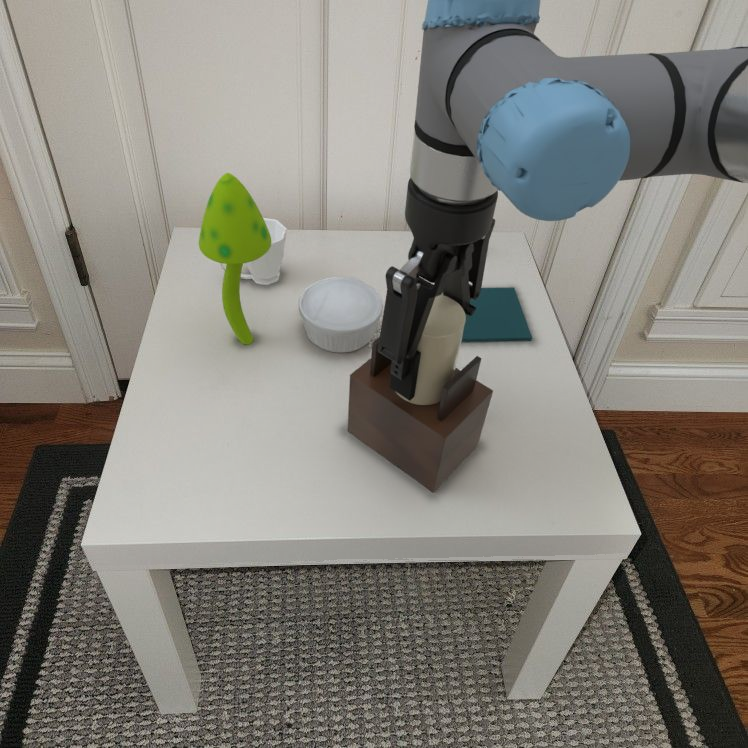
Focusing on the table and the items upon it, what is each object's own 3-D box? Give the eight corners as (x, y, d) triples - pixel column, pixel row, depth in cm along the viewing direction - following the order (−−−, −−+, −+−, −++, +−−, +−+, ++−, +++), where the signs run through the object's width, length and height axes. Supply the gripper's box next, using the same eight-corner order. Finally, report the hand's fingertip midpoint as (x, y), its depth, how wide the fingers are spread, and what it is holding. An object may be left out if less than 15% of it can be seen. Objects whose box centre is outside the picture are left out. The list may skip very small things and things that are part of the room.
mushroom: (273, 363, 86) (260, 196, 68) (209, 359, 86) (178, 190, 68) (281, 321, 92) (272, 156, 74) (221, 316, 92) (197, 150, 74)
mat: (513, 290, 100) (514, 287, 99) (531, 340, 92) (532, 337, 92) (442, 291, 99) (442, 287, 98) (454, 342, 91) (454, 339, 91)
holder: (477, 445, 79) (502, 358, 68) (433, 493, 74) (452, 406, 63) (394, 390, 84) (404, 301, 73) (347, 431, 79) (351, 342, 68)
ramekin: (291, 311, 94) (290, 282, 90) (366, 298, 96) (368, 270, 93) (310, 366, 86) (309, 337, 83) (390, 351, 89) (393, 322, 85)
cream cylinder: (463, 381, 72) (479, 313, 65) (427, 415, 69) (439, 347, 61) (416, 352, 75) (426, 283, 68) (379, 383, 71) (385, 314, 64)
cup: (292, 287, 97) (291, 242, 91) (224, 296, 95) (217, 250, 89) (284, 259, 102) (282, 214, 96) (219, 266, 100) (212, 221, 94)
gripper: (481, 127, 61) (447, 313, 78) (340, 211, 50) (335, 406, 67) (552, 157, 58) (501, 344, 75) (417, 252, 47) (393, 446, 64)
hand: (423, 373), depth 71 cm, fingers closed on cream cylinder, 7 cm apart
